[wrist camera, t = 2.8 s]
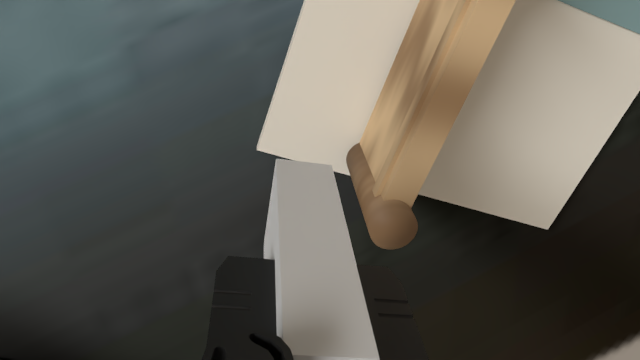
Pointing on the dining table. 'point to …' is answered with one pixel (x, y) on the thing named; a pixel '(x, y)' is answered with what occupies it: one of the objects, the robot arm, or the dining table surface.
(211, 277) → the dining table surface
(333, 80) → the card
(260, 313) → the robot arm
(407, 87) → the fence wing
